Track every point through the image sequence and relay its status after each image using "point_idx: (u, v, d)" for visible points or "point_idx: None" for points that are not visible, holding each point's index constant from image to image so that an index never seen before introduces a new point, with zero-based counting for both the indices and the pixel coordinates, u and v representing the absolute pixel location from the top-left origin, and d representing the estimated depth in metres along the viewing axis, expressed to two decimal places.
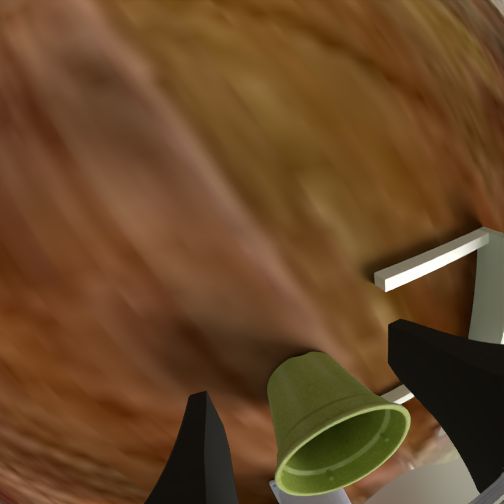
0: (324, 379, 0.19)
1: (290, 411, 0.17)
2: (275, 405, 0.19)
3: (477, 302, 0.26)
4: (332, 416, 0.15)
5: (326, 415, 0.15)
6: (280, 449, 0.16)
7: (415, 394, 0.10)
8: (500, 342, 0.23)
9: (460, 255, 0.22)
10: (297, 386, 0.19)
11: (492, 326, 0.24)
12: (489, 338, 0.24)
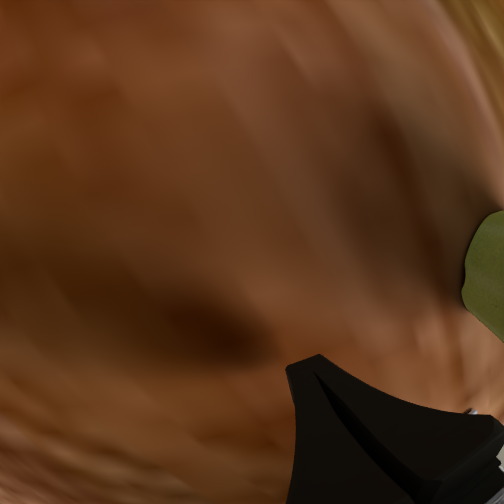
0: None
1: None
2: None
3: None
4: None
5: None
6: None
7: None
8: None
9: None
10: None
11: None
12: None
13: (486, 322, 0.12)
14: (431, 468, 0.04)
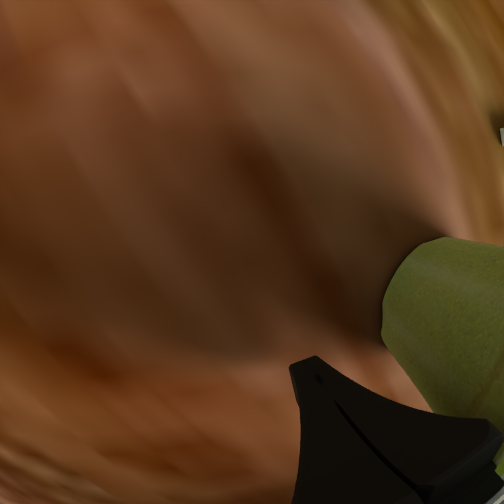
0: None
1: (485, 310, 0.07)
2: (429, 319, 0.09)
3: None
4: None
5: None
6: (496, 393, 0.05)
7: None
8: None
9: None
10: (470, 267, 0.08)
11: None
12: None
13: None
14: (424, 473, 0.04)
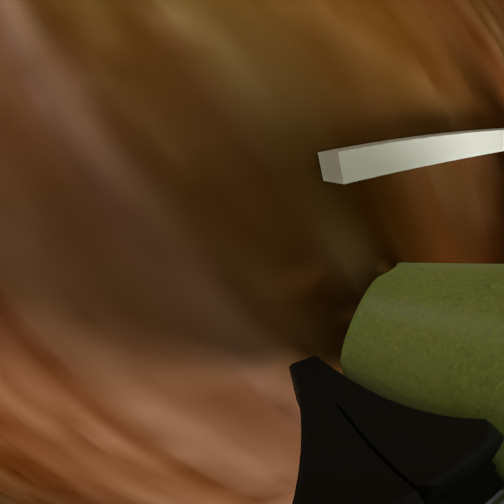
0: (489, 271, 0.07)
1: (500, 351, 0.05)
2: (421, 376, 0.07)
3: None
4: None
5: None
6: None
7: None
8: None
9: (494, 148, 0.10)
10: (461, 300, 0.07)
11: None
12: None
13: None
14: (424, 473, 0.04)
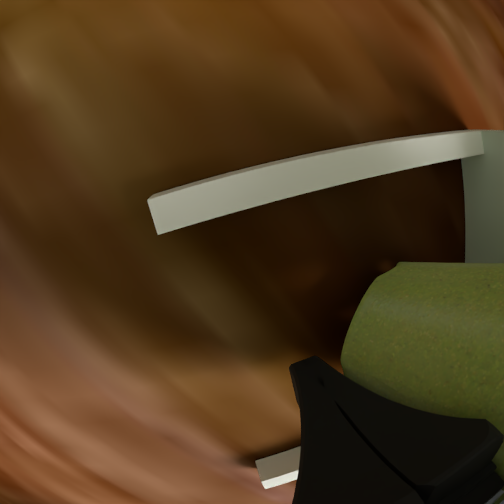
0: (490, 270, 0.07)
1: (500, 350, 0.05)
2: (421, 375, 0.07)
3: None
4: None
5: None
6: None
7: None
8: None
9: (412, 162, 0.09)
10: (461, 300, 0.07)
11: None
12: None
13: None
14: (424, 473, 0.04)
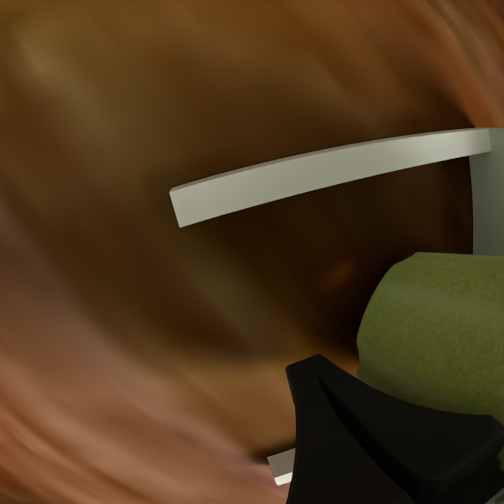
0: (498, 262, 0.07)
1: (499, 337, 0.06)
2: (427, 357, 0.07)
3: None
4: None
5: None
6: None
7: None
8: None
9: (424, 158, 0.09)
10: (467, 288, 0.07)
11: None
12: None
13: None
14: (431, 468, 0.04)
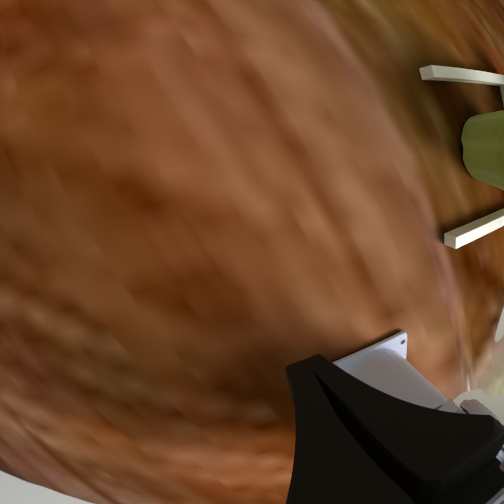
0: None
1: None
2: (485, 131, 0.18)
3: None
4: None
5: None
6: None
7: None
8: None
9: (488, 80, 0.18)
10: (495, 113, 0.17)
11: None
12: None
13: (481, 171, 0.20)
14: (431, 468, 0.04)
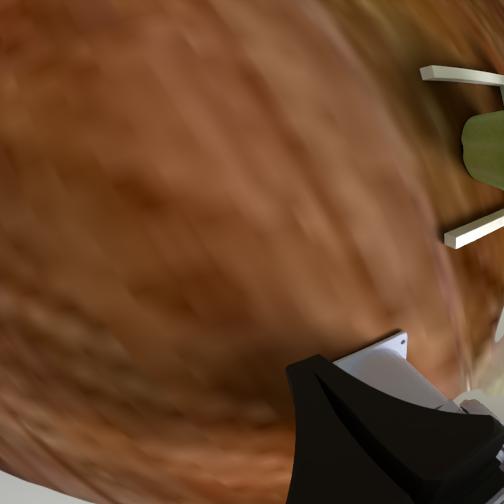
0: None
1: None
2: (485, 131, 0.18)
3: None
4: None
5: None
6: None
7: None
8: None
9: (489, 80, 0.18)
10: (495, 113, 0.17)
11: None
12: None
13: (481, 171, 0.20)
14: (431, 468, 0.04)
